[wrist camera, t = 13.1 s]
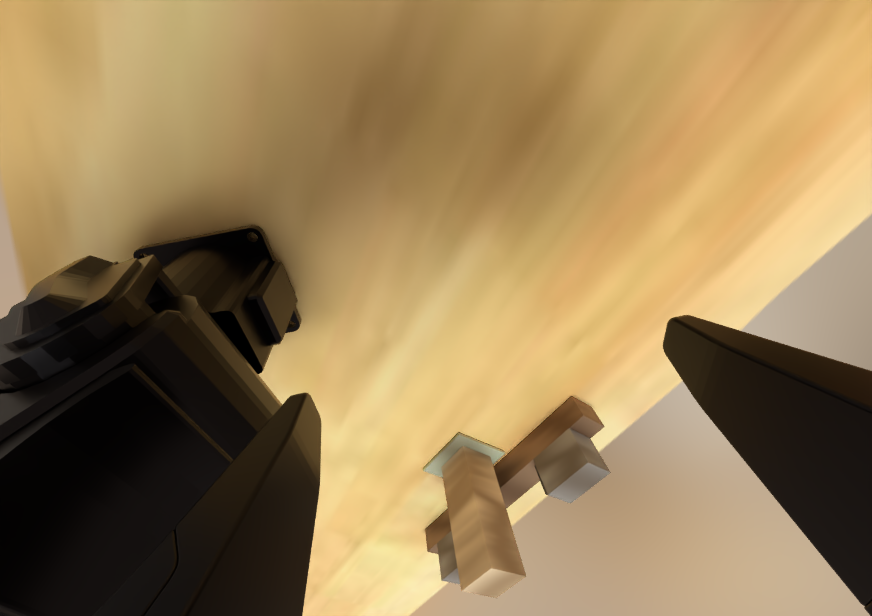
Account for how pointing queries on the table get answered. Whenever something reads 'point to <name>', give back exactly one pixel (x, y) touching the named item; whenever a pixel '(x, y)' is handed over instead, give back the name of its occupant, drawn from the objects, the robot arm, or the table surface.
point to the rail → (529, 469)
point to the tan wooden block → (480, 525)
